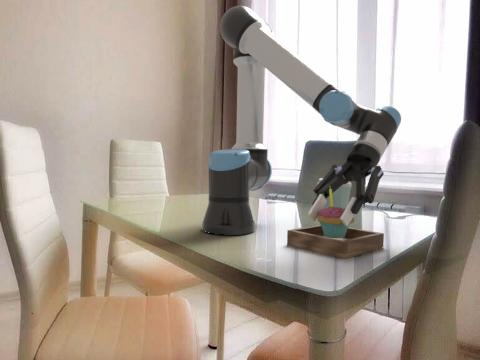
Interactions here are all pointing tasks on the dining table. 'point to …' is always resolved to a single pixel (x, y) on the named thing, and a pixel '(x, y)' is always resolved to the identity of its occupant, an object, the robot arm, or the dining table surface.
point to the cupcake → (332, 220)
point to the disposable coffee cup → (339, 196)
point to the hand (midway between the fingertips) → (326, 220)
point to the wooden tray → (335, 241)
